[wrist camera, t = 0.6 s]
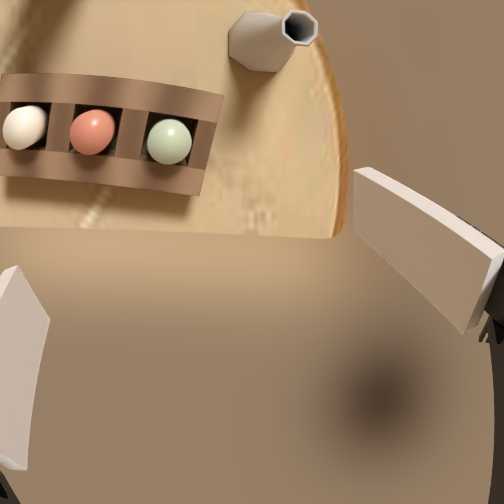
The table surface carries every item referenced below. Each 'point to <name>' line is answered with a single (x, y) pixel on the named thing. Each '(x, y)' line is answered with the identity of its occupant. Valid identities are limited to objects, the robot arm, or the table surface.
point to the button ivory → (25, 126)
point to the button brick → (93, 131)
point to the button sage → (169, 141)
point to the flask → (270, 38)
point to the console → (127, 134)
